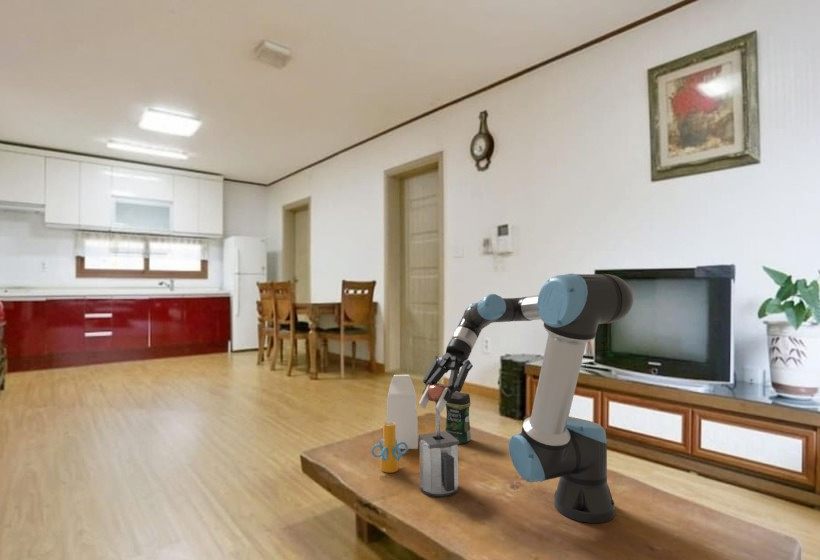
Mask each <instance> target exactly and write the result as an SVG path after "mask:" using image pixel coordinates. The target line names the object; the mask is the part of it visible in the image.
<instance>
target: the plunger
mask: <svg viewBox="0 0 820 560" xmlns="http://www.w3.org/2000/svg"><path fill="white" fill-rule="evenodd" d="M447 386H448V384H445V383H437V384H430V385H428V400H429V401H430V402H435V406H436V405H437V403H438V401H439V399H440V397H441V395H442V393H443V391H444V389H445V388H447V389H448V387H447ZM441 425H442V424H441V412H439V410H438V409H437V408H436V407H435V432H436V440H440V439H441V432H442V431H441V427H442V426H441Z"/></svg>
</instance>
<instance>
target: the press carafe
mask: <svg viewBox="0 0 820 560" xmlns="http://www.w3.org/2000/svg"><path fill="white" fill-rule="evenodd" d="M418 440H419V441H418V447H419V487H420V488H419V489H420V492H421V493H422V494H423V495H425V496H428V497H430V498H436V499H437V498H438V499H440V498H441V499H442V498H449V497H452V496H454V495H456V494H457V493H458V491H459V465H458V464H459V463H458V462H459V461H458V457H459V455H458V452H459V451H458V449H459V448H458V445H460V443H459V441H458V440H457V439H456V438H455V437H453V436H452V435H451V434H450V433H448V432H447V431H445V430H443V431H441V439H440V440H436V431H435V432H431V433H430V432H429V433H421V434H418Z"/></svg>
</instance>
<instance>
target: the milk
mask: <svg viewBox="0 0 820 560" xmlns="http://www.w3.org/2000/svg"><path fill="white" fill-rule="evenodd" d="M417 407H418V406H417V393H416V388H415V385H414V383H413V380H412V377H411V376H410V374H393V377H392V379H391V382H390V383H389V388H388V393H387V395H386V418H385V422H394V423H395V434H396V440H397V444H398V443H399V442H405V443H406V444H407V446H408V450H418V449H419V425H418V424H419V423H418V410H417ZM398 447H399V448H400V450H405V448H406V447H405V445H404V444H400V445H399V446H398Z"/></svg>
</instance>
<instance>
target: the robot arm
mask: <svg viewBox="0 0 820 560" xmlns="http://www.w3.org/2000/svg"><path fill="white" fill-rule="evenodd" d="M632 291H633V290H632V288H631V287H630V286H629V284H628V282H627V281H625V280H624V279H623V278H620V277H619V276H617V275H614V274H609V273H608V274H607V273H600V274H598V273H595V274H593V273H592V274H589V273H588V274H585V273H583V274H577V273H567V274H560V275H555V276H552V277H551V278H549V279H547V280H546V281H545V282H544V284H543V285H542V287H541V288H540V291H539V292H538V294H536V295H529V296H523V297H511V298H510V297H507V298H505V297H502V296H500V295H498V294H496V293H490V294H488V295H486V296H484V297H482V298H481V299H480V300H479V301H478V302H473V303H470V304H469V305H468V306H467V308H466V309H465V310H464V312H463V315H462V317H461V319H460V321H459V323H458V325H457V327H456V329H455V330H454V331H453V332H454V333H453V335H452V336H451V338H450V340H449V342H448V344H447V346H446V349H445V353H444V354H443V355H442V356H440V357H438V356H437V355H435V356H434V357H433V361H432V364H431V365H430V367H429V368H428V370H427V372H426V374H425V375H424V377H423V379H422V382H423V383H424V385H425V387H424V389H423V391H422V393H421V394H422V396H421V398H420V400H419V402H418V404H419V405H420V407H422V408H423V409H426V407H427V405H428V403H429V401H430V400H428V385H430V384H438V382H439V381H440V380H441V379H442V378H443V376H444V375H445V374H447V373H448V372H449V371H450V374H449V380H448V384H447V388H445V389H444V391H443V393H442V395H441V397H440V399H439V401H438V403H437V405H436V404H435V409H436V408H437V409H438V410H439V412H440V413H443V412H444V409H445V408H446V403H447V402H449V400H450V398H451V396H452V394H453V393H454V392H460V393H461V391H462V388H463V387H464V384H465V382H466V380H467V377H468V374H469V372H470V371H471V370H472V368H473V364H472V362H471V361H470V359H469V358H470V355H471V354H472V350H473V349H474V347H475V344H476V343H477V340H478V338H479V336H480V335H481V332H482V330H483V329H484V328H486V327H488V326H489V325H491V324H493V323H506V322H507V323H508V322H510V323H511V322H531V321H536V320H537V321H539V320H540V321H542V322H543V329H545V331H546V332H547V339H546V343H545V349H544V354H543V358H542V362H541V363H542V364H541V366H540V367H541V368H540V372H539V378H538V382H537V385H536V387H537V388H536V392H535V396H534V401H533V406H532V411H531V415H530V416H529V417H526V418H525V419H524V421H523V424H522V428H521V431H520V433H515V434H514V435H512V436H510V439H509V440H508V453H509V457H510V460H511V462H512V463H511V464H512V466H513V467H514V469H515V470H516V471H515V472H516V473H517V474H518V475H519V476H520V478H522V479H523V480H524V481H526V482H527V483H537V482H538V483H539V482H541V483H542V482H545V481H549V480H554V479H558V478H559V481H558V483H557V486H556V490H555V492H554V496H553V499H554V500H553V502H554V503H553V504H554V507H555V509H556V510H557V511H558V512H559V513H560V514H562V515H563V516H565V517H567V518H569V519H571V520H574V521H578V522H582V523H586V524H587V523H588V524H600V523H601V524H602V523H607V522H610V521H611V520H613V519H614V517H616V516H615V515H616V504H615V501H614V498H613V495H612V492H611V490H610V487H609V485H608V463H607V462H608V461H607V459H608V452H607V449H608V447H607V445H608V442H607V434H606V433H607V432H606V429H605V428H604V427H603V426H602V425H600V424H599V423H596V422H593V421H591V420H586V419H582V418H575V417H569V416H570V413H571V408H572V404H573V399H574V396H575V392H576V388H577V383H578V380H579V375H580V371H581V367H582V363H583V359H584V355H585V351H586V347H587V343H589V342H590V341H593V340H594V339H595V338H596V335H597V331H598V327H599V325H601V324H611V323H616V322H619V321H621V320H622V319H623V318H624V317H626V316H627V315H628V314H629V313H630V311H631V309H632V307H633V305H634V304H633V303H634V295H633V292H632Z"/></svg>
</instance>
